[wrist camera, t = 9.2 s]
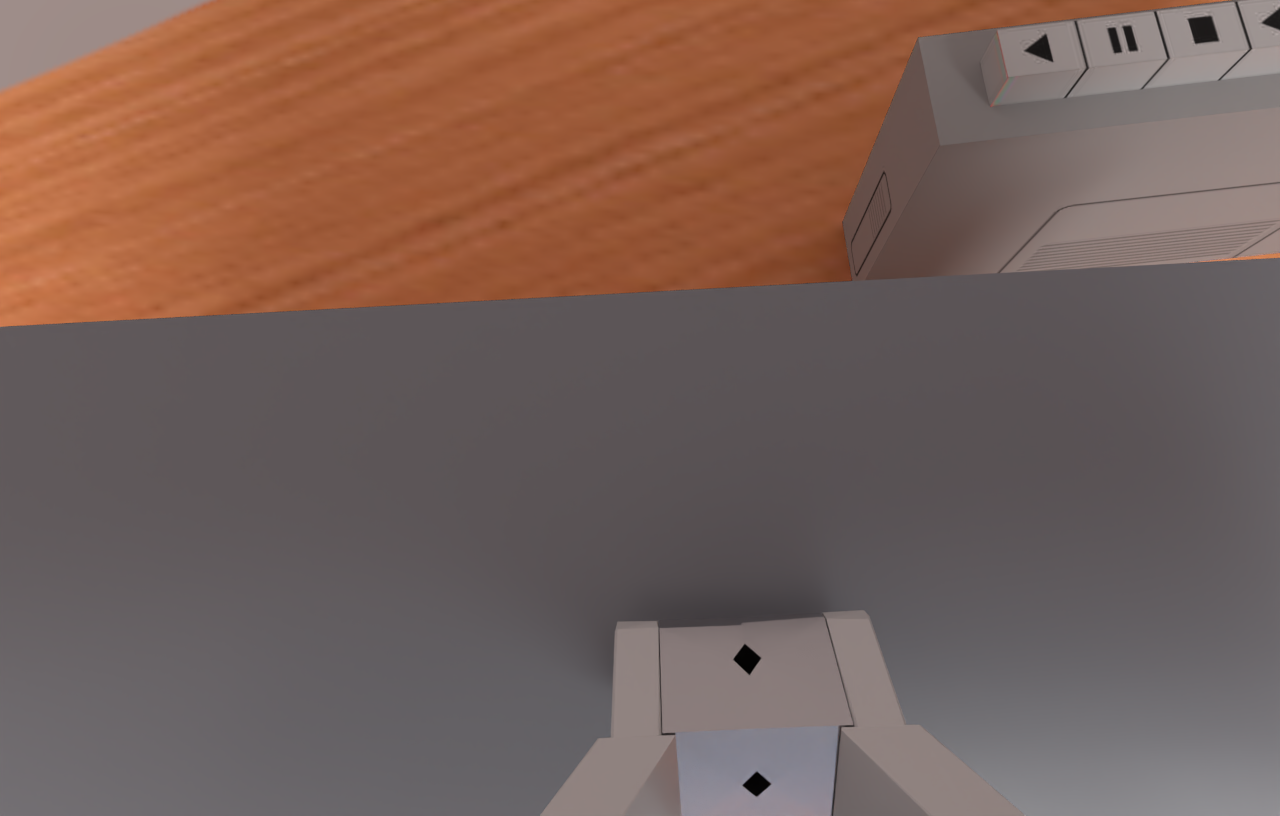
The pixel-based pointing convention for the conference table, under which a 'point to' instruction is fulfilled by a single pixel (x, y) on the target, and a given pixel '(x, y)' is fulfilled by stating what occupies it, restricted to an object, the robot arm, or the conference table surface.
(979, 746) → the lid
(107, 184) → the conference table surface
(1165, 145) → the cassette player
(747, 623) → the robot arm
